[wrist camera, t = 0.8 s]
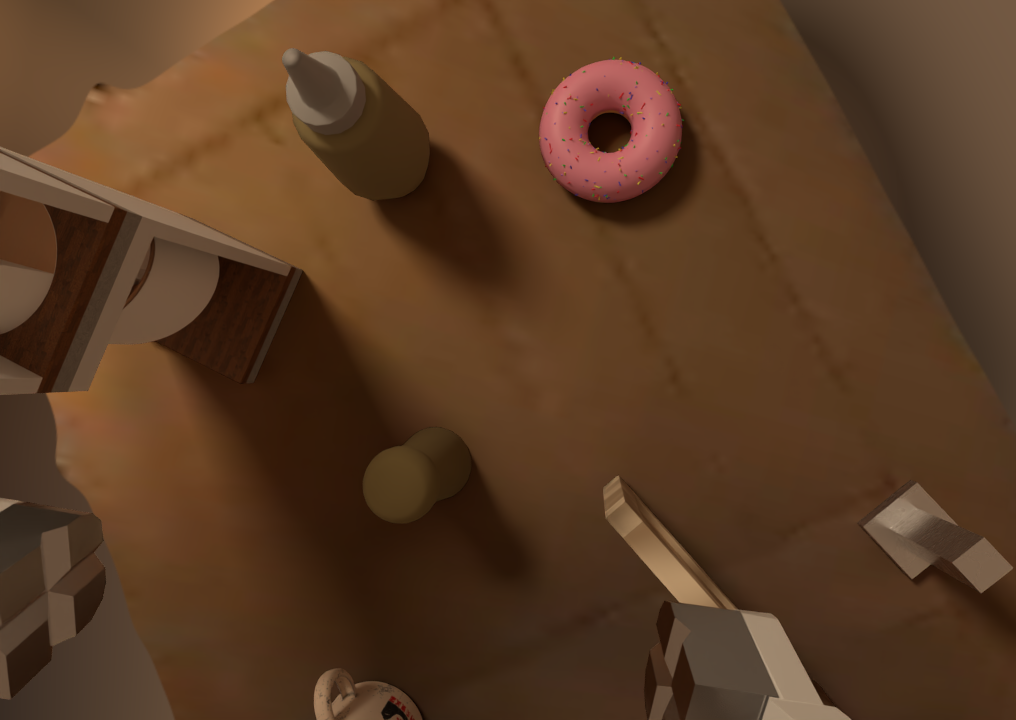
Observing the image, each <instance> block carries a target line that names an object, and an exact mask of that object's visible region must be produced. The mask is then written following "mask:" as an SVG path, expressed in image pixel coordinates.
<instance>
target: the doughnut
mask: <svg viewBox="0 0 1016 720" xmlns="http://www.w3.org/2000/svg"><path fill="white" fill-rule="evenodd" d="M614 59H615V57H614V58H613V59H612V60H610V59H609V60H605V61H600V62H596V63H592V64H589V65H587V66H584V67H582V68H580V69H579V70H577V71H575V72H574V73H573V74H570V76H569V77H567V78H566V79H565V80H564V78H563V82H561V83H560V84H559V86H558V87H557V88H556V89H555V91H554V89H553V92H551V93H552V95H551V96H550V98H549V100H548V102H547V104H546V106H545V108H543V109H544V112H543V115H542V118H541V122H540V127H539V143H540V149H541V153H542V157H543V160H544V162H545V164H546V166H545V167H547V168H548V170H549V171H550V173H551V175H552V176H553V177H554V179H553V180H556V181H557V182H558V183H559V184H560V185H561V186H562V187H564V188H565V189H567V190H568V191H570V192H571V193H573V194H575V196H579V197H581V198H583V199H586V200H590V201H594V202H601V203H616V202H621V201H625V200H629V199H632V198H635V197H637V196H639V195H641V194H643V193H644V192H646V191H648V190H649V189H651V188H652V187H654V186H655V185H656V184H657V183H658V182H659V181H660V180H661V179H662V178H663V177H664V176H665V175H666V174H667V172H668V171H669V170H670V168H671V167H673V163H674V161H675V159H676V158H678V157H677V154H678V151H679V150H680V149H681V147H680V144H681V138H682V128H683V125H682V121H684V120H683V119H681V114H680V110H679V109H681V107H679V106H678V105H681V104H678V102H677V101H676V99H675V97H674V95H673V93H672V91H673V89H670V88H669V87H668V86H667V84H668V82H667V83H666V84H665V83H664V81H663V80H662V79H661V78H660V77H659V75H658V73H656V74H655V73H654V72H652V71H651V70H649V69H648V68H646V67H644V66H642V65H640V64H641V62H640V63H638V64H636V63H635V62H630V61H624V60H621V59H622V58H620V60H614ZM604 113H617V114H620V115H622V116H624V117H625V118H626V119H627V120H628V121H629V123H630V124H631V129H632V130H631V132H630V134H631V138H630V140H629V142H628V143H627V145H625V147H622V148H623V149H621V150H620V149H619V151H617V152H614V153H606V152H600V151H598V149H599V148H597V149H595V148H594V147H593V146H592V145H591V143H590V141H589V138H588V128H589V126H590V124H591V122H592V120H593V119H594V118H596V117H597V116H599V115H601V114H604Z"/></svg>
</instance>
